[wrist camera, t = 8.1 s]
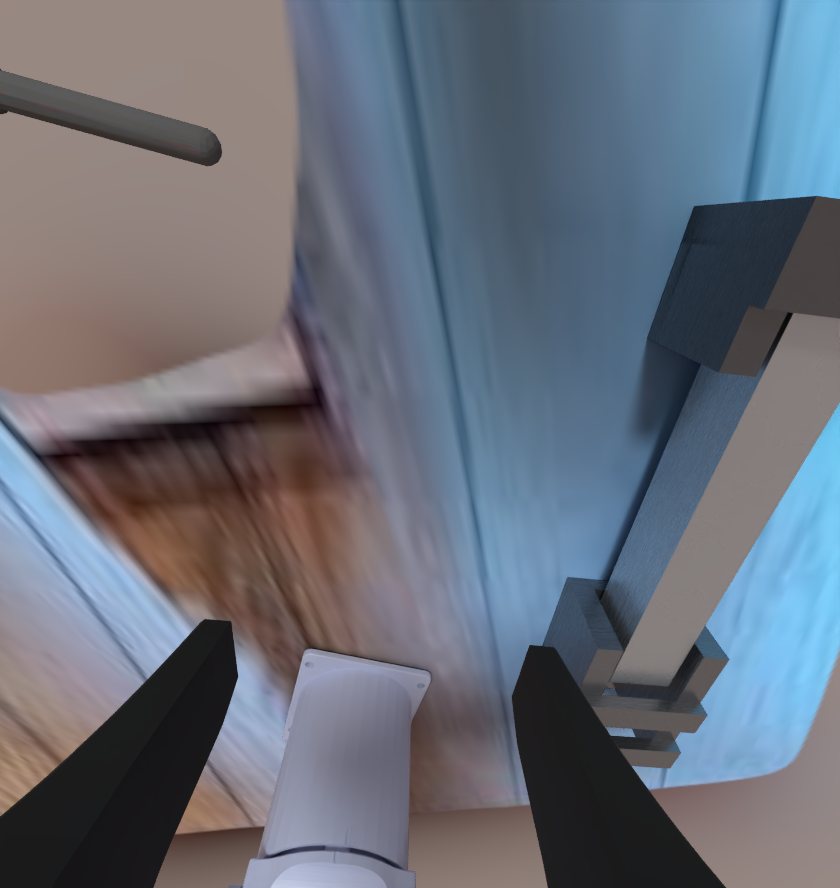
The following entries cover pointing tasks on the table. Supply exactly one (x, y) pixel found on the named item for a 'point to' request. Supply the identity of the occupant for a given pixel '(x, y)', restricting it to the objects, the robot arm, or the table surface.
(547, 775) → the robot arm
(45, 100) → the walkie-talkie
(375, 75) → the table surface
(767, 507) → the rod
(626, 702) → the sleeve
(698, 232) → the socket
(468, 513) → the table surface
